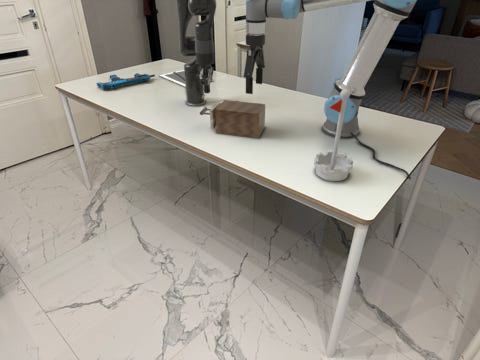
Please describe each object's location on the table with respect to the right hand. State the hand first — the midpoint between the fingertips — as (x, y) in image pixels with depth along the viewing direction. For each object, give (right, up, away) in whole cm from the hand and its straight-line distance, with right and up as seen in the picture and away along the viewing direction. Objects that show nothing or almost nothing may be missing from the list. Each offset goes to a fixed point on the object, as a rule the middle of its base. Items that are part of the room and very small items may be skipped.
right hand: (254, 88), depth 141 cm
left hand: (-20, -1, +4) cm, 21 cm away
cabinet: (-5, -16, +9) cm, 19 cm away
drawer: (-12, -14, +10) cm, 21 cm away
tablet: (-41, +27, +75) cm, 89 cm away
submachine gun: (-77, +23, +69) cm, 106 cm away
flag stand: (+27, -36, -21) cm, 49 cm away
